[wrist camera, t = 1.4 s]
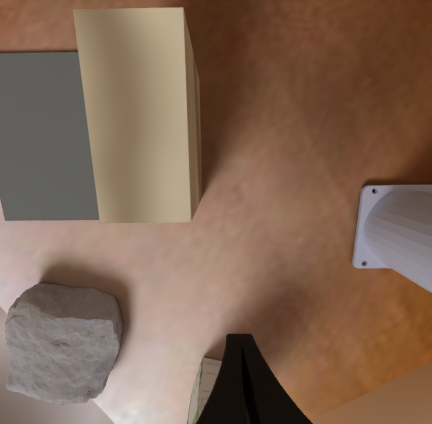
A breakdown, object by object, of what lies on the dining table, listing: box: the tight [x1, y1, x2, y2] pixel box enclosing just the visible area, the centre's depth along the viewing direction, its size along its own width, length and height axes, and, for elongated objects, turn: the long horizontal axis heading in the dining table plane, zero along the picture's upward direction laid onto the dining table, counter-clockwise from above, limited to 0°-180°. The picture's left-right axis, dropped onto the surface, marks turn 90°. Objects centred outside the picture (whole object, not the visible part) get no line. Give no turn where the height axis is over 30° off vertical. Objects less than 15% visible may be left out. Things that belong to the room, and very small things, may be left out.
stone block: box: [5, 283, 123, 405], centre depth 23 cm, size 12×5×10 cm
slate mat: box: [0, 52, 100, 221], centre depth 20 cm, size 13×14×1 cm
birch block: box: [73, 7, 202, 223], centre depth 16 cm, size 5×10×9 cm, turn 1°
